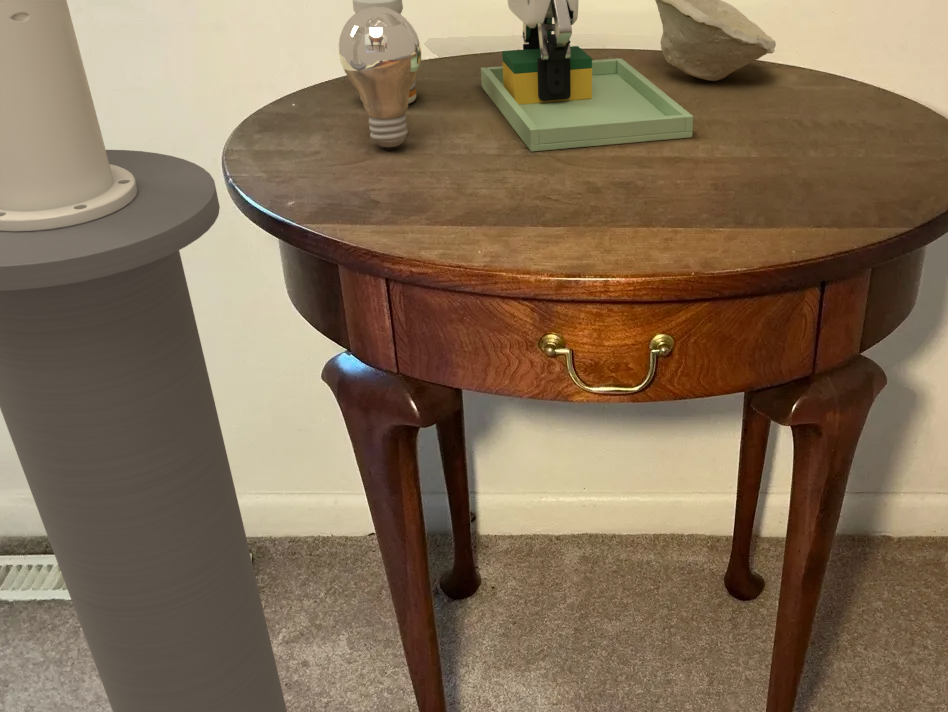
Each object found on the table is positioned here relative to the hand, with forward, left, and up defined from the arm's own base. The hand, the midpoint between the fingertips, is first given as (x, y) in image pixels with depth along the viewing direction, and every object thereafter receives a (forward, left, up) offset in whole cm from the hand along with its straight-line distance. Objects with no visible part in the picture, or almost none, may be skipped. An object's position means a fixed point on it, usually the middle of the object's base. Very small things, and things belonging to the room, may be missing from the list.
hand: (546, 89), depth 107 cm
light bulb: (-17, -11, -1) cm, 21 cm away
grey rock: (+19, +4, -1) cm, 20 cm away
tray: (+2, -4, -1) cm, 5 cm away
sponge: (0, 0, -1) cm, 1 cm away
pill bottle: (-16, +4, -1) cm, 16 cm away
